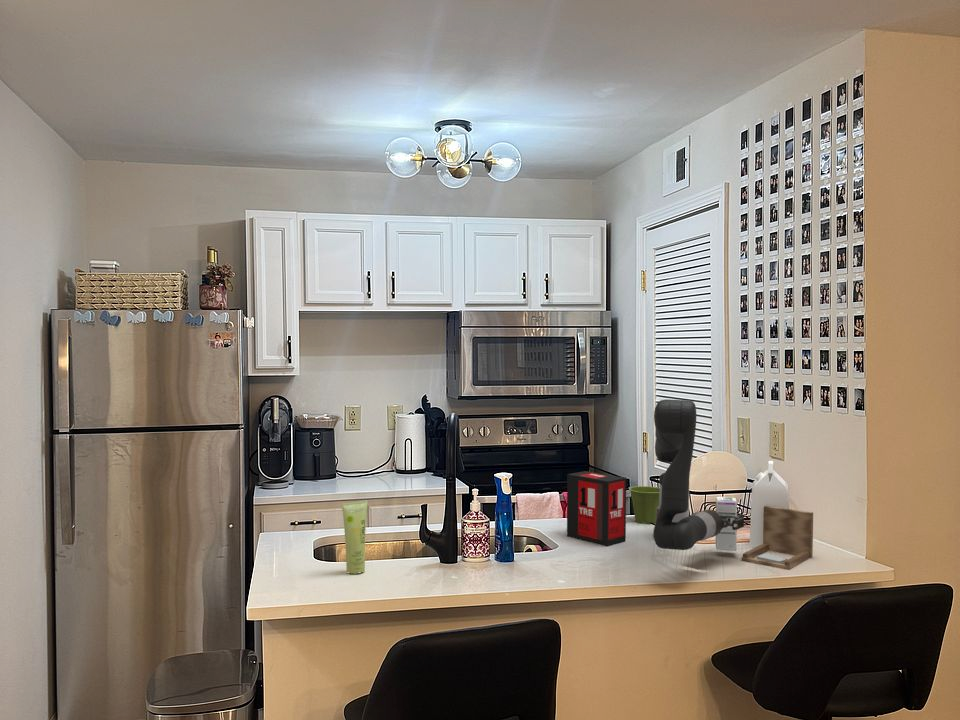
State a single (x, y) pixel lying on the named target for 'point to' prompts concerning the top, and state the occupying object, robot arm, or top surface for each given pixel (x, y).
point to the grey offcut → (772, 558)
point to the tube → (355, 535)
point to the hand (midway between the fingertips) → (728, 516)
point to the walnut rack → (784, 537)
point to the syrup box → (727, 535)
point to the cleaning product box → (596, 508)
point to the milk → (766, 500)
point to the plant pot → (645, 503)
